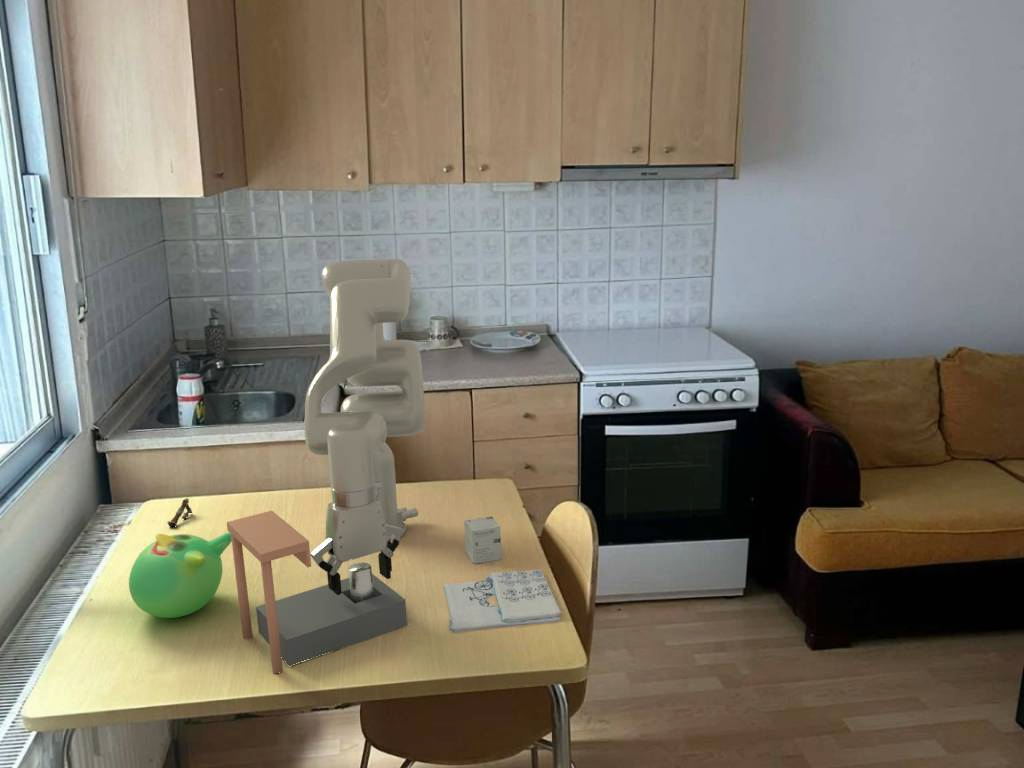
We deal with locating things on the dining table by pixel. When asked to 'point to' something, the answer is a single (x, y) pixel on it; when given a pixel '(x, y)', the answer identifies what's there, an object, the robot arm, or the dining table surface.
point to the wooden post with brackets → (179, 513)
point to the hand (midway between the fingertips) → (361, 584)
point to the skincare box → (482, 539)
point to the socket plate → (332, 619)
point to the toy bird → (177, 574)
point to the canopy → (265, 566)
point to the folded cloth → (501, 601)
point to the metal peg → (360, 582)
